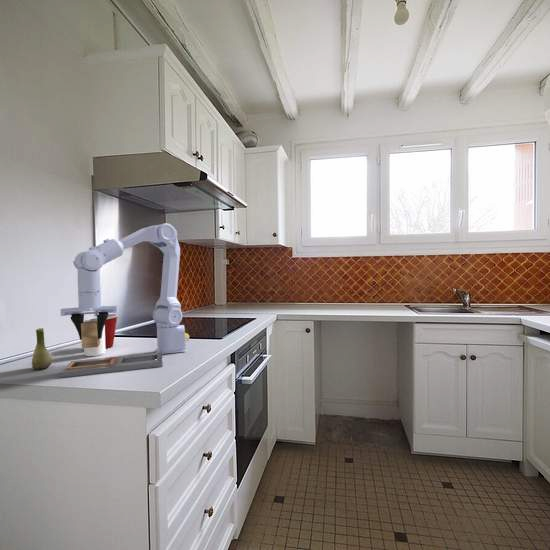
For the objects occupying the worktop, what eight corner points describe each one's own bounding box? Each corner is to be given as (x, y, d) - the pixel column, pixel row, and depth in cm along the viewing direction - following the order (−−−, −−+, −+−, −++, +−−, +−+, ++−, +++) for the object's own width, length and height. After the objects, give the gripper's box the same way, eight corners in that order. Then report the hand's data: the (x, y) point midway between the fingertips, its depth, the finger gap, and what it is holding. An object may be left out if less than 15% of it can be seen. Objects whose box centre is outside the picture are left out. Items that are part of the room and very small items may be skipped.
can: (96, 357, 111) (95, 321, 111) (79, 356, 112) (78, 321, 112) (109, 352, 117) (108, 318, 117) (93, 352, 119) (92, 318, 118)
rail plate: (162, 356, 110) (162, 351, 109) (162, 366, 98) (162, 360, 98) (72, 365, 101) (71, 360, 101) (60, 377, 90) (60, 371, 90)
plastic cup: (84, 347, 126) (83, 315, 126) (115, 342, 133) (113, 312, 133) (91, 352, 118) (89, 318, 118) (123, 347, 125) (122, 315, 125)
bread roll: (174, 344, 129) (173, 333, 129) (164, 340, 136) (164, 331, 136) (193, 340, 135) (193, 330, 135) (183, 337, 141) (182, 328, 141)
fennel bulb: (37, 366, 102) (36, 327, 102) (55, 364, 103) (54, 326, 103) (28, 371, 96) (26, 330, 96) (47, 370, 97) (45, 329, 97)
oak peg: (100, 344, 100) (99, 320, 100) (97, 346, 96) (96, 322, 96) (85, 345, 99) (84, 321, 98) (81, 348, 95) (81, 323, 95)
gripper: (56, 294, 91) (58, 343, 91) (114, 291, 96) (116, 339, 96) (63, 292, 98) (65, 339, 98) (118, 290, 102) (119, 334, 103)
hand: (91, 338), depth 97 cm, fingers closed on oak peg, 4 cm apart
